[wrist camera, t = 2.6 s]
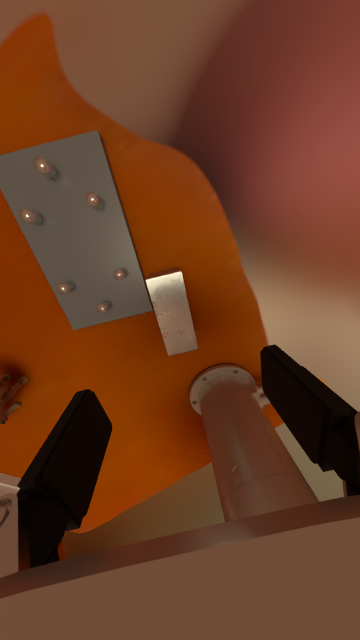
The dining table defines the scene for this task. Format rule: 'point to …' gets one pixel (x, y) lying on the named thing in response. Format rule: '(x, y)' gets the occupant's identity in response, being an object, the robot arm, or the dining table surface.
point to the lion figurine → (9, 394)
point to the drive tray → (77, 228)
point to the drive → (172, 310)
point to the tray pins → (38, 219)
